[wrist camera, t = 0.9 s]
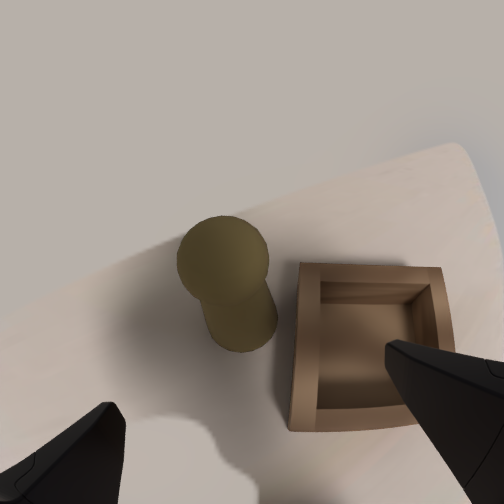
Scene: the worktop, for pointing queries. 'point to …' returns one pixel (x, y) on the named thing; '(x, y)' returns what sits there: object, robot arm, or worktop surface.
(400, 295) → the socket block
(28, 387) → the worktop surface
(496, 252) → the worktop surface
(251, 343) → the cork
